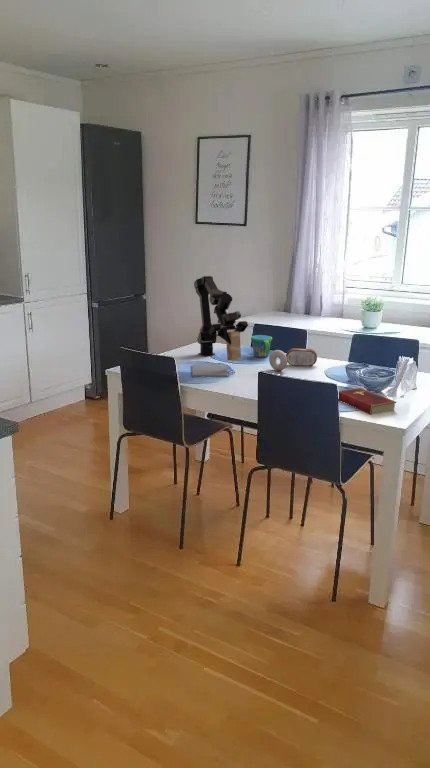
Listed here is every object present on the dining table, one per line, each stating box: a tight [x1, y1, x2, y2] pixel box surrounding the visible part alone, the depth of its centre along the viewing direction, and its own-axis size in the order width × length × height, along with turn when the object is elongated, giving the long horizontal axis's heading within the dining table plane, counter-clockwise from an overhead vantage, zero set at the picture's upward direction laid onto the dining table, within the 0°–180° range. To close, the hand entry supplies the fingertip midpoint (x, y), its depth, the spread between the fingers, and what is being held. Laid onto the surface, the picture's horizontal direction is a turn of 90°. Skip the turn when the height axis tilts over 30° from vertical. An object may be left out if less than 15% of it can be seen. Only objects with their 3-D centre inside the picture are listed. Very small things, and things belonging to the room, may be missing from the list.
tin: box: [285, 347, 318, 367], centre depth 297 cm, size 15×3×8 cm, turn 84°
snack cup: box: [250, 334, 273, 358], centre depth 315 cm, size 16×10×10 cm
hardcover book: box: [338, 387, 397, 416], centre depth 239 cm, size 12×21×4 cm, turn 26°
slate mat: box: [191, 363, 229, 378], centre depth 286 cm, size 20×16×1 cm
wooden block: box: [225, 330, 242, 362], centre depth 285 cm, size 5×4×13 cm
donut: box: [268, 349, 288, 372], centre depth 287 cm, size 10×4×10 cm, turn 46°
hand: (235, 343), depth 284 cm, fingers closed on wooden block, 4 cm apart
